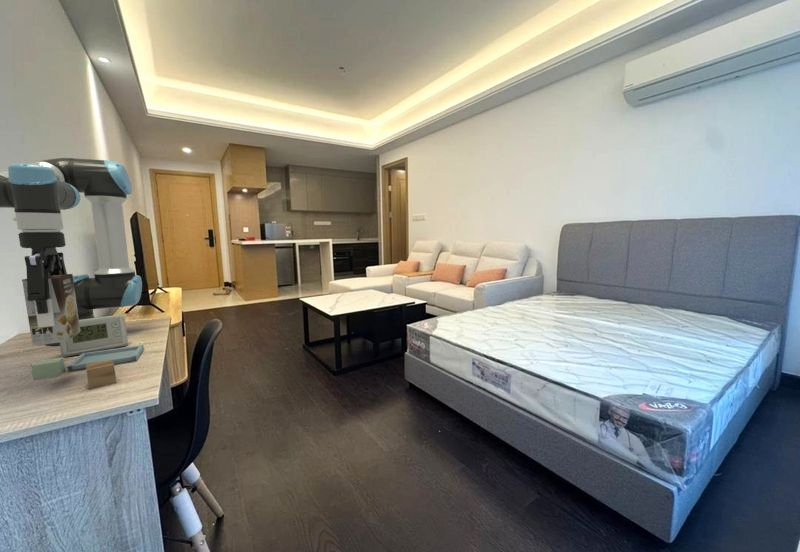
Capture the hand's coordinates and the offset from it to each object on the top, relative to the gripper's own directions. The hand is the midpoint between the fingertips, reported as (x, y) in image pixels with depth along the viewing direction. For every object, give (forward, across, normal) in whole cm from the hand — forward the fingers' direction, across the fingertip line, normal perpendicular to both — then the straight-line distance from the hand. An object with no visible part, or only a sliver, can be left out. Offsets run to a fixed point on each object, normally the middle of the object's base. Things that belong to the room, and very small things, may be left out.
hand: (55, 321), depth 82 cm
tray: (+16, -13, +6) cm, 22 cm away
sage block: (+16, -7, -5) cm, 18 cm away
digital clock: (+17, -27, 0) cm, 32 cm away
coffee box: (+5, 0, 0) cm, 5 cm away
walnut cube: (+16, +7, +9) cm, 19 cm away
